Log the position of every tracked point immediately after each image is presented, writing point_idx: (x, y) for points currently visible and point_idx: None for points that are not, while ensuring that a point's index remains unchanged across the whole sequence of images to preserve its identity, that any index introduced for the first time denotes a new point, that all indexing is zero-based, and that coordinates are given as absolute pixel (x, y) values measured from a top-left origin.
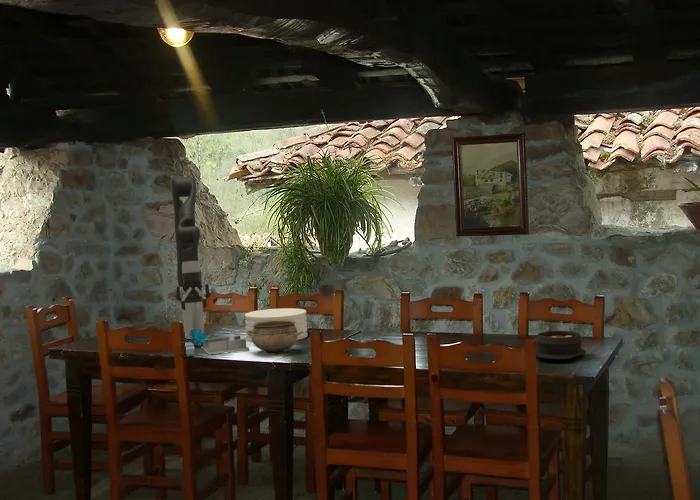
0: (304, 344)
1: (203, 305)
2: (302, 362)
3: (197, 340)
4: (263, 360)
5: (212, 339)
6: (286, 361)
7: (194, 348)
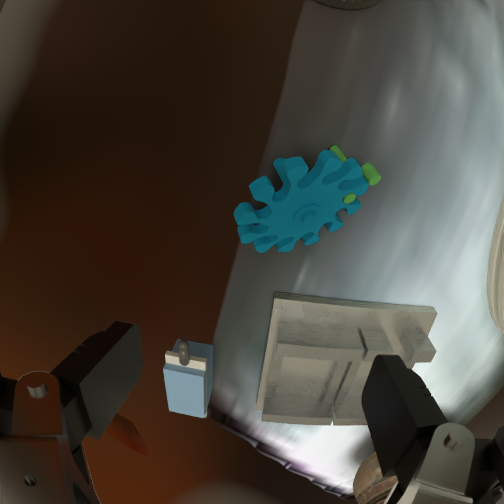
0: (497, 391)
1: (367, 420)
2: None
3: (278, 240)
4: (331, 478)
5: (315, 357)
6: None
7: (206, 414)
